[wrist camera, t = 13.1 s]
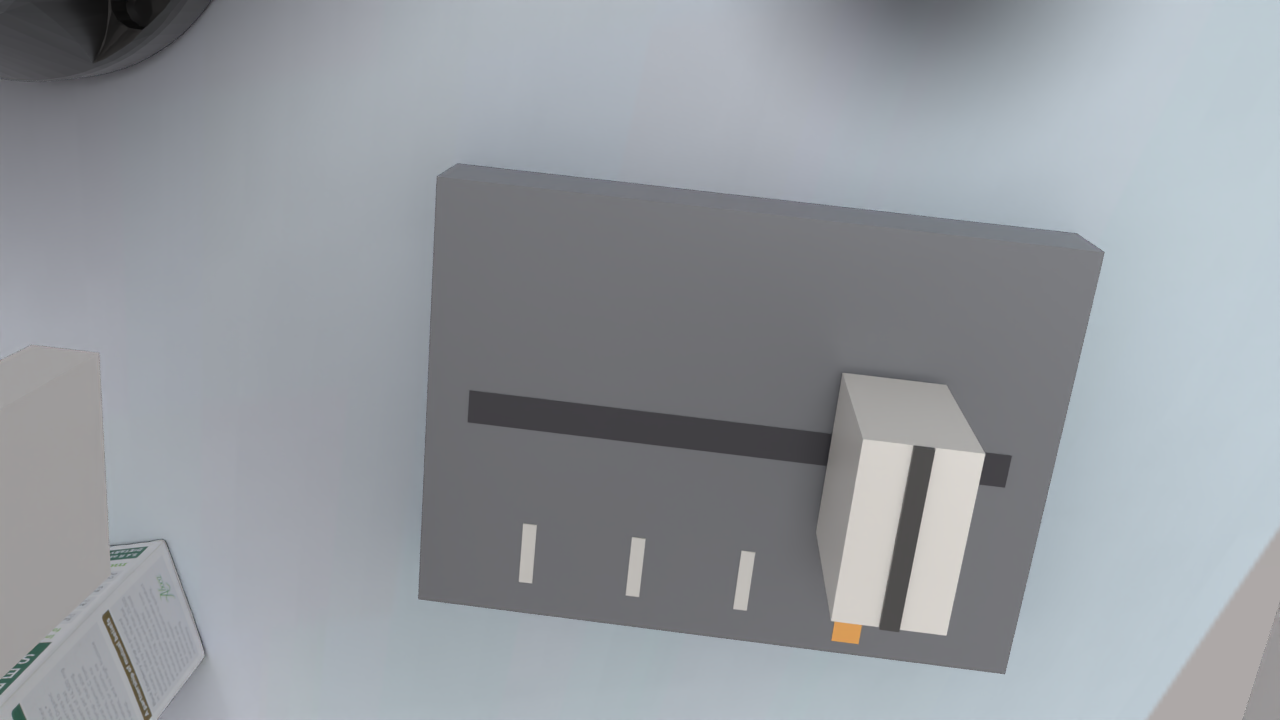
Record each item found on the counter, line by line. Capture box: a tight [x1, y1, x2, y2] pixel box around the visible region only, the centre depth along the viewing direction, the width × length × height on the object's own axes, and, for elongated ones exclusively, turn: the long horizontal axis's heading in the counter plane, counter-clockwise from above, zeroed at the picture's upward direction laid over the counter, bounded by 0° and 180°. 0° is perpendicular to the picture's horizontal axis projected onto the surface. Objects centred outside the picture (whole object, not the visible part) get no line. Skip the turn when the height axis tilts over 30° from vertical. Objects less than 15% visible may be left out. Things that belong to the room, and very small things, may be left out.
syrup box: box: [0, 540, 204, 720], centre depth 40 cm, size 6×6×14 cm
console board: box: [418, 164, 1105, 674], centre depth 41 cm, size 22×16×3 cm
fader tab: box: [816, 373, 985, 636], centre depth 36 cm, size 4×6×6 cm, turn 174°
